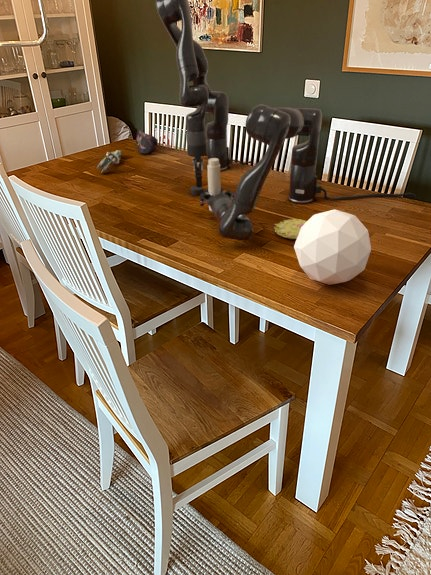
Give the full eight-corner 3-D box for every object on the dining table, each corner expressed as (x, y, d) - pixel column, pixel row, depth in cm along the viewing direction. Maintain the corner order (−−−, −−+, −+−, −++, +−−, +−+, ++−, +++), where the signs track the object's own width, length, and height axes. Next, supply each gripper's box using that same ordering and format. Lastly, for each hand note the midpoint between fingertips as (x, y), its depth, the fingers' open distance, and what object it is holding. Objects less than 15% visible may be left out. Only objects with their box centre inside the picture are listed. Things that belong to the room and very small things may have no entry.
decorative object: (286, 211, 157) (342, 219, 147) (286, 217, 158) (341, 226, 148) (260, 233, 142) (319, 243, 133) (260, 240, 144) (319, 251, 134)
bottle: (223, 208, 166) (222, 158, 156) (217, 212, 162) (216, 162, 152) (212, 206, 168) (210, 157, 158) (206, 210, 164) (204, 160, 154)
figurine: (101, 154, 197) (119, 141, 223) (91, 167, 200) (110, 152, 227) (114, 165, 199) (130, 151, 225) (103, 178, 203) (121, 162, 229)
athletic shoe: (143, 144, 221) (166, 143, 225) (132, 120, 233) (154, 119, 237) (142, 163, 229) (164, 162, 234) (131, 139, 241) (152, 138, 245)
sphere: (306, 297, 126) (271, 236, 124) (363, 261, 128) (330, 201, 126) (334, 302, 107) (294, 231, 105) (400, 260, 109) (362, 189, 107)
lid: (205, 191, 181) (204, 186, 180) (201, 196, 177) (201, 190, 176) (192, 190, 183) (192, 185, 181) (188, 195, 178) (188, 189, 177)
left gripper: (187, 137, 175) (190, 177, 183) (186, 147, 163) (189, 190, 171) (206, 136, 175) (208, 176, 183) (207, 146, 163) (209, 189, 172)
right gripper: (243, 195, 149) (231, 179, 163) (202, 199, 147) (193, 183, 161) (243, 216, 153) (231, 198, 167) (203, 220, 151) (194, 202, 165)
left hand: (199, 183), depth 177 cm, fingers open, 8 cm apart
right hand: (213, 191), depth 164 cm, fingers closed on bottle, 4 cm apart
